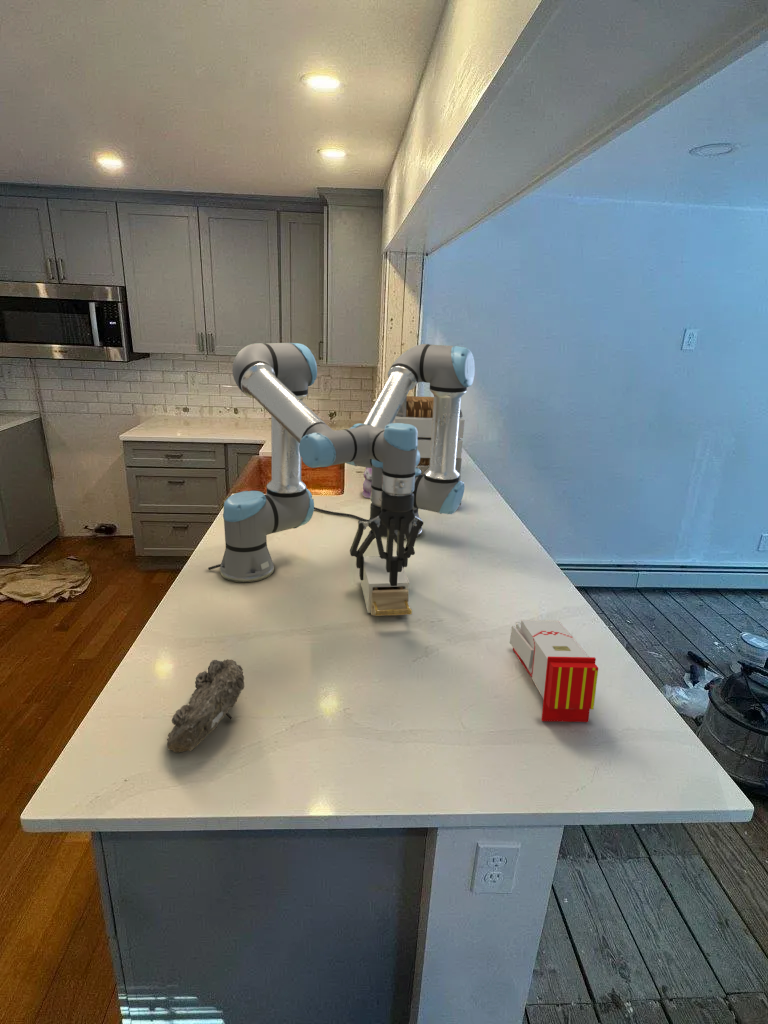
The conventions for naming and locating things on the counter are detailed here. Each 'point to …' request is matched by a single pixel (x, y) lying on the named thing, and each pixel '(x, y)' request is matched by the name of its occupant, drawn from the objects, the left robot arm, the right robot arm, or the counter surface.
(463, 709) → the counter surface
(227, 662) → the fossil
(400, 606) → the drawer
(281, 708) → the counter surface
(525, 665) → the toy
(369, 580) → the cabinet
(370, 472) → the figurine
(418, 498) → the right robot arm
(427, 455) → the white slatted crate
